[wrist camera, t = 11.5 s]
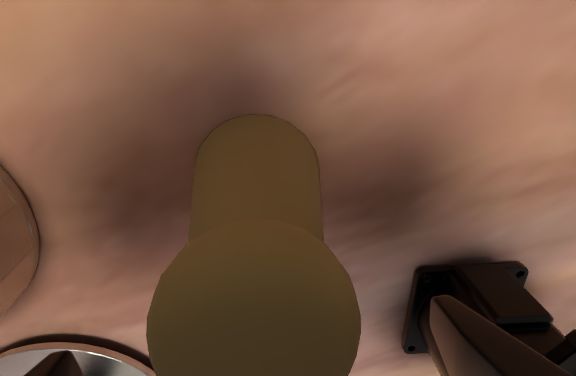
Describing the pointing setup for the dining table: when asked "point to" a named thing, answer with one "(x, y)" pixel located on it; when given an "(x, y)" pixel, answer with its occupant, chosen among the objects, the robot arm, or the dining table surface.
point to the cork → (255, 266)
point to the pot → (15, 242)
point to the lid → (92, 359)
